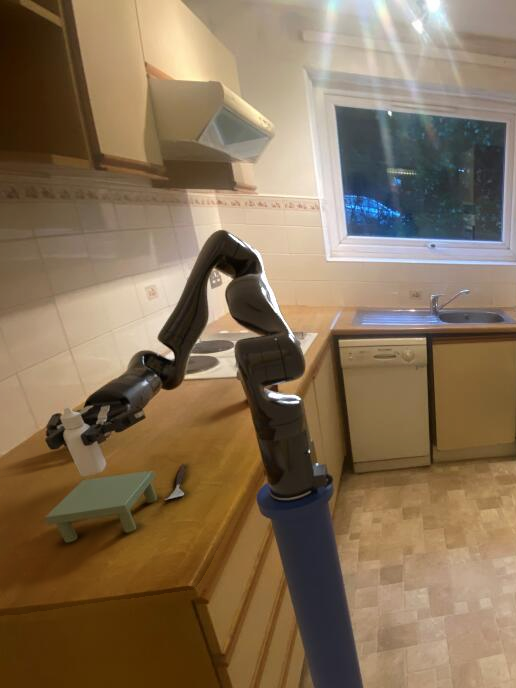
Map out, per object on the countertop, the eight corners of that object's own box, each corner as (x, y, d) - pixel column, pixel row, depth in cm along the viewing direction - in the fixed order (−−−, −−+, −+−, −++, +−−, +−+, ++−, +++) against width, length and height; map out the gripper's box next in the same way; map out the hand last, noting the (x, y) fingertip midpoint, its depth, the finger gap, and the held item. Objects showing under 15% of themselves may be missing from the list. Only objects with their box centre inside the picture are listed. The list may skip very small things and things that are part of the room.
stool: (162, 495, 86) (152, 470, 84) (135, 533, 76) (124, 505, 74) (94, 505, 83) (83, 479, 81) (58, 545, 74) (44, 517, 71)
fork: (191, 464, 97) (188, 456, 96) (182, 504, 84) (179, 495, 83) (177, 467, 96) (174, 459, 95) (165, 508, 83) (162, 499, 82)
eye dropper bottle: (67, 479, 73) (36, 416, 68) (91, 460, 78) (65, 401, 73) (96, 477, 74) (68, 414, 69) (118, 459, 79) (93, 399, 74)
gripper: (70, 385, 82) (2, 428, 67) (157, 378, 86) (112, 417, 71) (84, 420, 85) (23, 468, 70) (169, 412, 89) (127, 456, 74)
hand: (68, 442), depth 71 cm, fingers closed on eye dropper bottle, 4 cm apart
